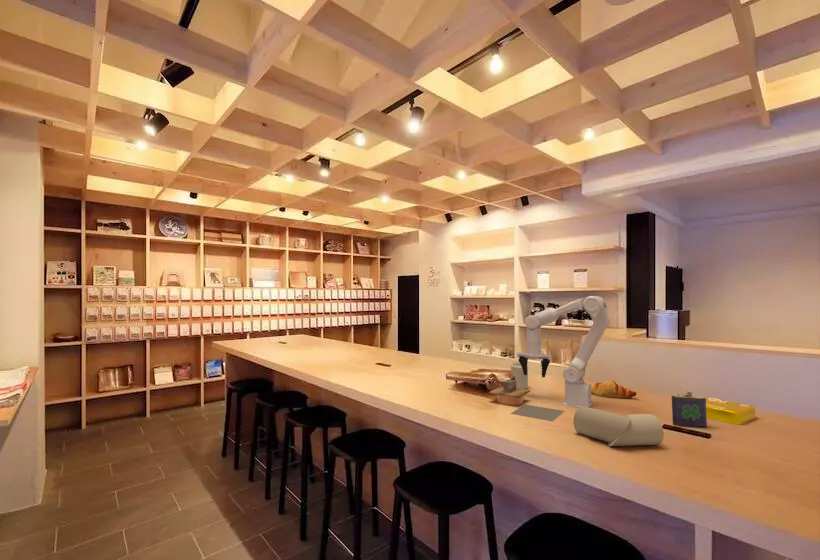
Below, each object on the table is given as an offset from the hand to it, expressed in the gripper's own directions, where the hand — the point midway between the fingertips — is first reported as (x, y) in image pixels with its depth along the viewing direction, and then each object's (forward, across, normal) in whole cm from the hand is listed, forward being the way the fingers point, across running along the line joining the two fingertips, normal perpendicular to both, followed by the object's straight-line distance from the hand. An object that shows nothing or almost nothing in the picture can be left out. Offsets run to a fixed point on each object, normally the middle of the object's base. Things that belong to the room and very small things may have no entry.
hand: (534, 376), depth 164 cm
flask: (+10, +53, -4) cm, 54 cm away
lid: (+5, -6, -12) cm, 15 cm away
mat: (+9, +8, -20) cm, 24 cm away
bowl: (+9, -6, -12) cm, 16 cm away
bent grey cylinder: (+10, +35, -33) cm, 49 cm away
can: (+10, -12, +14) cm, 21 cm away
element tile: (+10, +62, +16) cm, 65 cm away
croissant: (+10, +24, +24) cm, 36 cm away
